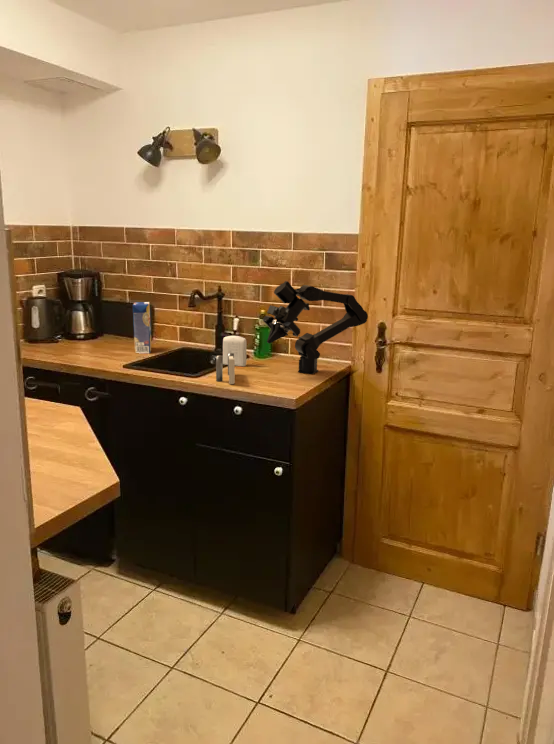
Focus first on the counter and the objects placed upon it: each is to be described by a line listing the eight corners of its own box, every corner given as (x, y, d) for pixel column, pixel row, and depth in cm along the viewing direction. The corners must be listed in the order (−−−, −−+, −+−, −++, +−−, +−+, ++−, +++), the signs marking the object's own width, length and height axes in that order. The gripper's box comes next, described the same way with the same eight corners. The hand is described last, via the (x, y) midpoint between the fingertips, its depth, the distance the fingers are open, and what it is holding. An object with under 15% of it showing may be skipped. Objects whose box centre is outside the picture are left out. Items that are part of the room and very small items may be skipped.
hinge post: (235, 374, 223) (235, 353, 221) (231, 375, 221) (231, 354, 219) (229, 373, 224) (229, 352, 222) (226, 374, 222) (226, 353, 220)
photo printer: (247, 364, 239) (248, 335, 236) (244, 367, 235) (244, 337, 232) (225, 362, 242) (225, 334, 239) (221, 364, 238) (221, 335, 235)
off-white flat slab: (228, 375, 220) (228, 351, 218) (233, 375, 220) (233, 351, 218) (229, 384, 207) (229, 359, 205) (234, 384, 207) (234, 359, 205)
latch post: (223, 380, 213) (223, 355, 211) (220, 381, 211) (220, 356, 209) (218, 379, 214) (218, 355, 212) (214, 381, 212) (214, 356, 210)
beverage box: (151, 348, 269) (149, 302, 264) (150, 353, 259) (148, 305, 254) (136, 348, 268) (134, 302, 263) (134, 353, 258) (132, 305, 253)
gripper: (266, 295, 222) (242, 325, 219) (294, 300, 207) (268, 333, 204) (283, 313, 228) (259, 343, 225) (311, 320, 213) (286, 352, 210)
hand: (267, 342), depth 216 cm, fingers closed
